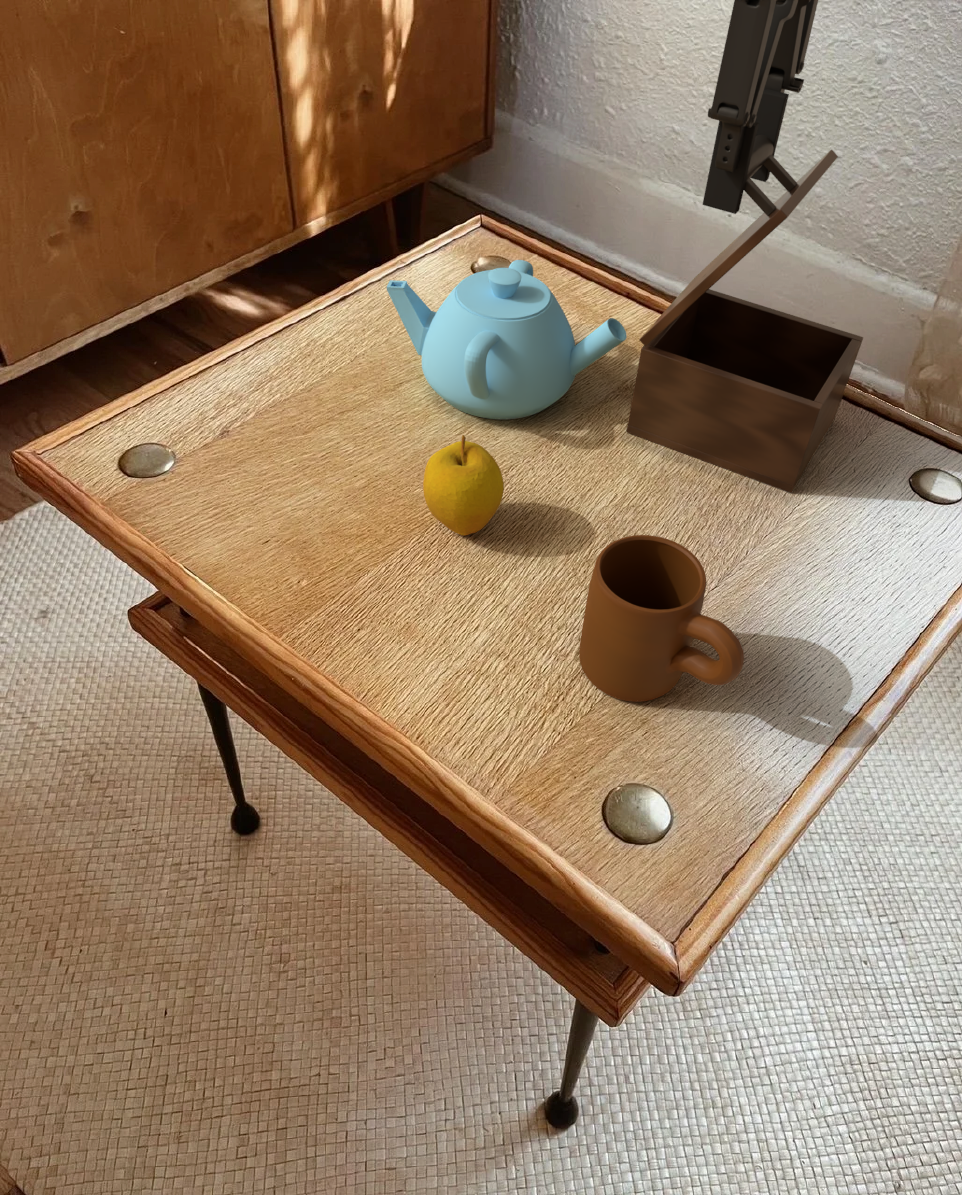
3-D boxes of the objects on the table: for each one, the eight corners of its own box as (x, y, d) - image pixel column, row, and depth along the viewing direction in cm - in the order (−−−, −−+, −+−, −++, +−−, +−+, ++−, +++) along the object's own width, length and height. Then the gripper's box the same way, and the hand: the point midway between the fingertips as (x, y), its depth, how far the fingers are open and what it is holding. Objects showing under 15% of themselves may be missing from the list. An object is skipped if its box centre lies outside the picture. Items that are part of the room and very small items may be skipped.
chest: (834, 419, 96) (863, 337, 89) (791, 493, 88) (820, 409, 82) (679, 366, 101) (696, 285, 94) (626, 432, 93) (641, 348, 87)
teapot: (485, 460, 89) (492, 348, 81) (383, 364, 99) (380, 255, 91) (621, 406, 96) (639, 297, 88) (513, 321, 105) (520, 216, 97)
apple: (466, 488, 87) (469, 410, 81) (516, 528, 83) (523, 450, 78) (406, 519, 84) (404, 441, 78) (455, 562, 80) (458, 484, 75)
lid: (838, 156, 81) (789, 101, 81) (787, 217, 73) (732, 157, 73) (700, 283, 94) (657, 237, 93) (645, 347, 86) (597, 296, 86)
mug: (752, 708, 72) (787, 617, 65) (680, 766, 68) (708, 676, 61) (627, 610, 78) (647, 517, 71) (555, 658, 74) (568, 565, 67)
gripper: (805, -199, 71) (733, 139, 88) (703, -156, 59) (643, 225, 76) (914, -185, 69) (819, 161, 85) (830, -136, 57) (738, 253, 74)
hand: (736, 191), depth 81 cm, fingers closed on lid, 6 cm apart
